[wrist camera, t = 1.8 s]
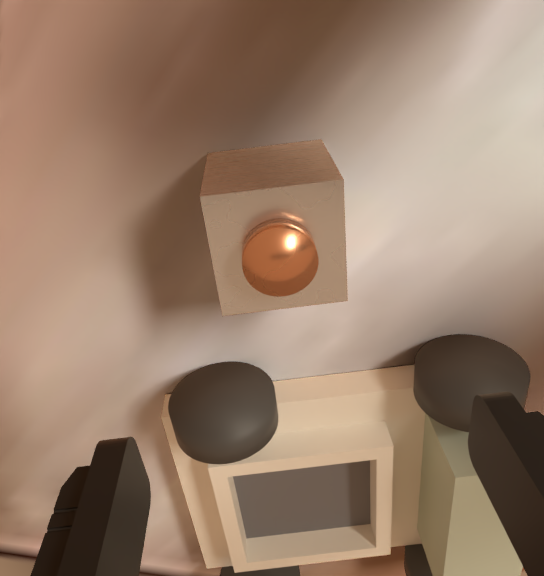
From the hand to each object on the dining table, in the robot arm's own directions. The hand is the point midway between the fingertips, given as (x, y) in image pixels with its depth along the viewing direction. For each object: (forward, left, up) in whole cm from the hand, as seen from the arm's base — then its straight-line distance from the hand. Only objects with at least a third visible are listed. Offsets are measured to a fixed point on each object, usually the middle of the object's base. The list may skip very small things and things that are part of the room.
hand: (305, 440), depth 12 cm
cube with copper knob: (0, 0, -16) cm, 16 cm away
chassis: (-3, +20, -16) cm, 26 cm away
